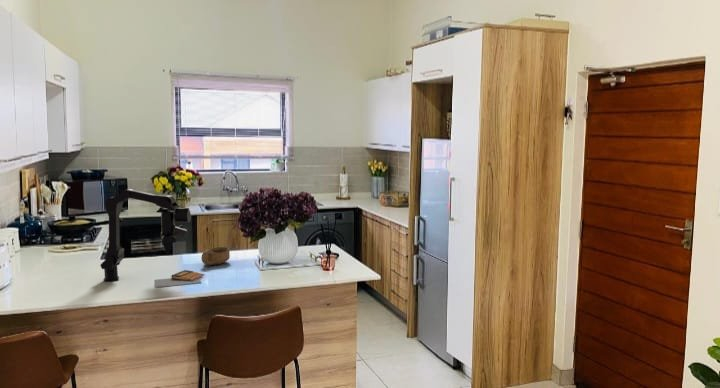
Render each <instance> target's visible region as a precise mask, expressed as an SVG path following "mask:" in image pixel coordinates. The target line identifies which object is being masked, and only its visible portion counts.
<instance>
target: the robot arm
mask: <svg viewBox="0 0 720 388" xmlns="http://www.w3.org/2000/svg"><path fill="white" fill-rule="evenodd" d="M129 199H132V200H137V201H142V202H143V201H144V202H146V203H151V204H153V205H156V206H157V207H159V209H158V210H156V213H160V215H161V216H160V217H161V218H160V219H161V221H160V222H161V224H160V225H161V232H160V237H161V243H162V246H163V248H164V250H165V253H166V255H170V254H171V249H172V245H173V244H174V243H176V242H177V237H176V235H178V236H180V237H183V238H185V237H186V235H187V232H188V229H186V228H184V225H182V224H180V225H179V226H176V224H175V221H176V222H177V223H190V222H191V220H192V219H191V218H192V214H191V210H190V207H180V205H178V202H176V199H175V197H174V195H171V194H155V193H150V192H145V191H140V190H136V189H133V188H126V189H124V190H123V191H121V192H120V193H118V194H116V195H115V196H111V197H107V199H105V201H104V208H105V212H106V213H107V215H108V247H107V250H106V252H105V258H104V261H103V262H102V263H100V268H101V270H103V272H104V278H103V282H112V281H113V282H115V281H119V280H120V276H119V275H118V273H119V272H118V271H119V270H118V266H120V264H121V262H122V261H123V259H124V257H125V248H124V247H121V244H120V215H121V212H122V210H123V206H124V205H123V204H124V203H125V202H127V201H128V200H129Z"/></svg>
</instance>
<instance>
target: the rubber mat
mask: <svg viewBox="0 0 720 388" xmlns="http://www.w3.org/2000/svg"><path fill="white" fill-rule="evenodd" d="M196 284H202V281H201V277H199V278H196V279H194V280H175V279H172V278H171V277H170V278H160V279H154V286H155V288H156V289H157V288H169V287H175V286H176V287H177V286H178V287H179V286H185V285H186V286H187V285H196Z"/></svg>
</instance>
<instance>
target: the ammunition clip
mask: <svg viewBox="0 0 720 388" xmlns="http://www.w3.org/2000/svg"><path fill="white" fill-rule="evenodd" d="M203 276H206V274H204V273H201V272H198V271H197V272H196V271H194V270H187V269H184V270H182V271H178V272H176V273H174V274H171V277H170V278H172V279H175V280H194V279H196V278H201V277H203Z"/></svg>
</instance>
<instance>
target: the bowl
mask: <svg viewBox="0 0 720 388" xmlns="http://www.w3.org/2000/svg"><path fill="white" fill-rule="evenodd" d="M230 249H231V248H230V247H228V246H217V247H212V248H208V249H206V250H204V251H203V252H202V254H201V262H202V264H204V265H206V266H216V265H222V264H224V263H225V262H226V263H227V261H229V260H230V258H231V257H230V255H231V253H230Z"/></svg>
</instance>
